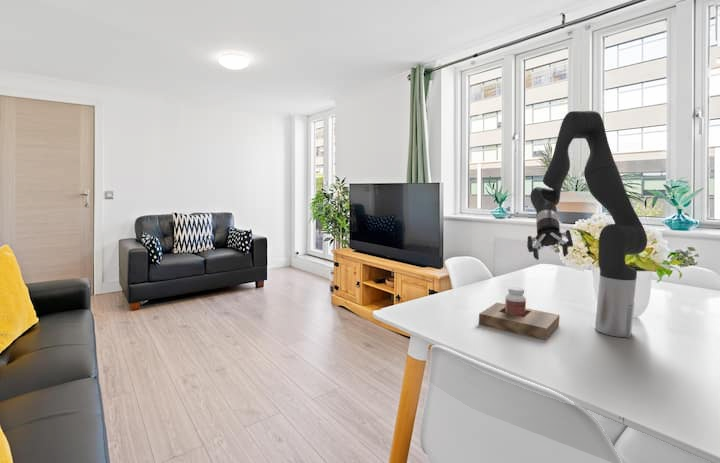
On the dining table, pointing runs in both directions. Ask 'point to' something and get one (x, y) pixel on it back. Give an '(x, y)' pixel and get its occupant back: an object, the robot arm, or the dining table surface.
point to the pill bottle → (515, 302)
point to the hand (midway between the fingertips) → (550, 256)
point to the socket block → (520, 321)
